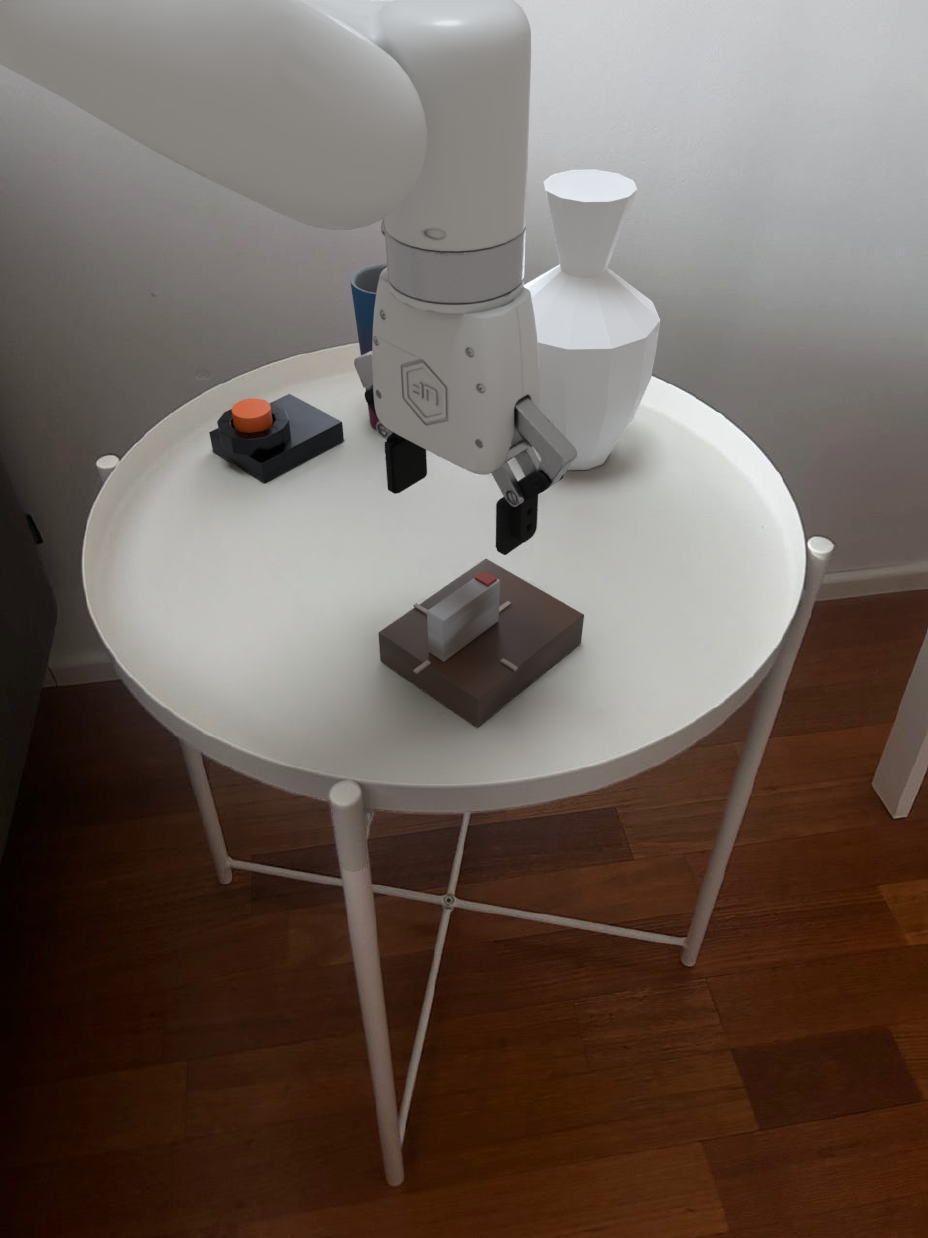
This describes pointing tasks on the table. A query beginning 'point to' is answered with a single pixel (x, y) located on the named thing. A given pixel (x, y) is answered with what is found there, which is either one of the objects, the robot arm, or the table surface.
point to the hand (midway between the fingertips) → (459, 512)
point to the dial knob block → (485, 647)
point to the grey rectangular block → (463, 615)
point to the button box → (278, 439)
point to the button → (252, 415)
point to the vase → (591, 318)
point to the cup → (366, 309)
